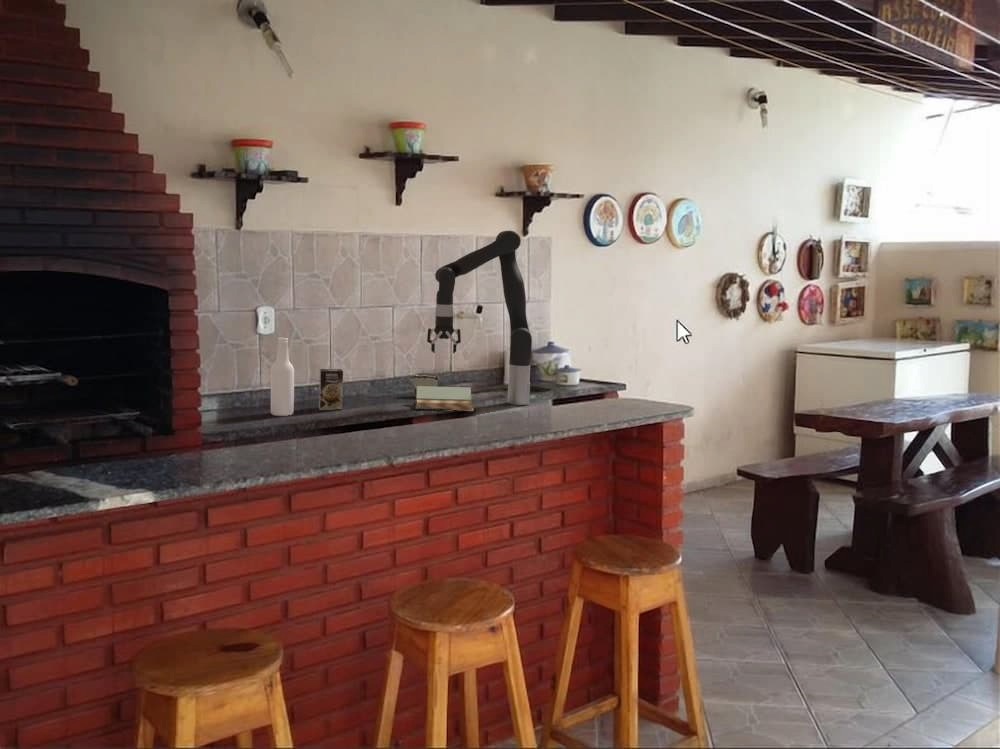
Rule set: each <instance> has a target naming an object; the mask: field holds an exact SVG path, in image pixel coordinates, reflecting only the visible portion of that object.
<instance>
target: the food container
mask: <svg viewBox="0 0 1000 749" xmlns="http://www.w3.org/2000/svg"><path fill="white" fill-rule="evenodd" d="M411 379H412V380H413V381H412V382H413V394H414V395H413V397H416V398H417V386H432V387H438V381H440V376H439V375H438V374H435V373H429V372H420V373H419V372H418V373H413V374H412V377H411Z"/></svg>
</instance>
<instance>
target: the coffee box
mask: <svg viewBox="0 0 1000 749" xmlns="http://www.w3.org/2000/svg"><path fill="white" fill-rule="evenodd" d="M318 382H319V383H318V384H319V385H318V386H319V387H318V392H319V393H318V409H319V411H336V410H335V409H342V410H343V394H344V393H343V392H344V391H343V389H344V386H343V385H344V370H343V369H341V368H320V369H319V381H318Z"/></svg>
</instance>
